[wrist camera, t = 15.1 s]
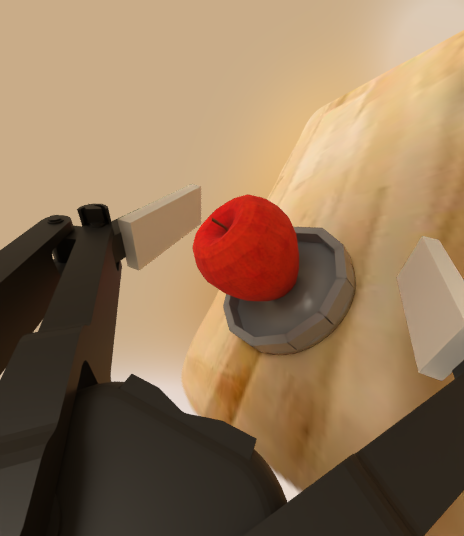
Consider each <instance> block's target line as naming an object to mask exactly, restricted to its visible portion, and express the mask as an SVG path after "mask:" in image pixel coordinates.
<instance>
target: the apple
mask: <svg viewBox="0 0 464 536" xmlns="http://www.w3.org/2000/svg"><path fill="white" fill-rule="evenodd" d="M193 252H194V257H195V260H196V264H197V267H198V269H199V270H200V272H201V273H202V275H203V277H204V278H205V279H206V280H207V282H209V283H210V284H212V285H214V286H215V287H216V288H218V289H219V290H221V291H222V292H224V293H226V294H228V295H230V296H233V297H236V298H239V299H242V300H246V301H271V300H276V299H278V298H281V297H283V296H285V295H286V294H287V293H288V292H289V291H290V290H291V289H292V288H293V286H294V285H295V284H296V280H297V276H298V271H299V250H298V243H297V236H296V232H295V230H294V228H293V226H292V223H291V222H290V220H289V218H288V216H287V215H286V214H285V213H284V212H283V211H282V210H281V209H280V208H279V207H278V206H277V205H275V204H273V203H272V202H270V201H268V200H267V199H263V198H261V197H256V196H252V195H245V196H241V197H237V198H234V199H232V200H231V201H228V202H227V203H225V204H224V205H222V206H221V207H219V208H218V209H216V210H215V211H214V212H213V213H212V214H211V215H210V216H209V217H208V219H207V220H206V221H205V222H204V223H203V224H202V225H201V227H200V228H199V230H198V231H197V233H196V236H195V239H194V243H193Z"/></svg>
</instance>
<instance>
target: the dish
mask: <svg viewBox="0 0 464 536" xmlns="http://www.w3.org/2000/svg"><path fill="white" fill-rule="evenodd" d="M293 228H294V230H295V232H296V236H297V243H298V250H299V271H298V276H297V280H296V284H295V285H294V286H293V288H292V289H291V290H290V291H289V292H288V293H287V294H286V295H285V296H283V297H281V298H278V299H276V300H271V301H246V300H242V299H239V298H236V297H233V296H230V295H228V294H226V297H225V301H224V305H223V306H224V311H225V315H226V319H227V323H228V327H229V330H230V331H231V332H232V333H234V334H235V335H236V336H238V337H239V338H241V339H242V340H244V341H245V342H246V343H248V344H249V345H251V346H252V347H254V348H255V349H257V350H258V351H260V352H262V353H263V352H265V353H269V354H274V355H286V354H293V353H297V352H300V351H303V350H306V349H308V348H310V347H312V346H314V345H316V344H317V343H319V342H321V341H322V340H323V339H325V338H326V337H327V336H328V335H329V334H330V333H331V332H333V331H334V330H335V329H336V327H337V326H338V325H339V324H340V322H341V321H342V320H343V318H344V317H345V315H346V313H347V312H348V310H349V307H350V305H351V303H352V300H353V296H354V292H355V273H354V269H353V266H352V264H351V260H350V255H349V253H348V252H347V250H346V249H345V247H344V245H343V244H342V243H340V242H339V241H338V240H337V239H336V238H334V237H333V236H332V235H331V234H329V233H328V232H327V231H326V230H324V229H323V228H311V227H293Z"/></svg>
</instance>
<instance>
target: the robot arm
mask: <svg viewBox="0 0 464 536" xmlns="http://www.w3.org/2000/svg"><path fill="white" fill-rule="evenodd" d="M77 210H78V213H79V217H80V220H81V223H82V227H81V226H73V224H72V221H71V218H70V217H68V216H63V215H54V216H50V217H47V218H45V219H43V220H41V221H40V222H38V223H37V224H36V225H34V226H33V227H32V228H30V229H29V230H28V231H26V232H25V233H24V234H22V235H21V236H19V237H18V238H17V239H15V240H14V241H12V242H11V243H10V244H8V245H7V246H6V247H4V248H3V249H2V250H0V375H1V373H2V372H3V371H4V369H5V368H6V369H5V371H4V373H3V375H2V378H1V380H0V536H424V535H425V534H426V533H427V532H428V530H429V529H430V528H431V527H432V526H433V525H434V524H435V522H436V521H437V520H438V519H439V518H440V517H441V516H442V514H443V513H444V512H445V511H446V510H447V509H448V508H449V506H450V505H451V504H452V503H453V502H454V501H455V500H456V499H457V497H458V496H459V495H460V494H461V493H462V492H463V491H464V280H463V278H462V277H461V275H460V273H459V272H458V270H457V268H456V267H455V265H454V264H453V262H452V260H451V259H450V257H449V255H448V254H447V252H446V251H445V249H444V247H443V246H442V244H441V242H440V241H439V240H438V239H434V238H429V237H425V236H422V237H421V238H420V240H419V241H418V243H417V245H416V246H415V248H414V250H413V251H412V253H411V254H410V256H409V258H408V259H407V261H406V262H405V264H404V266H403V267H402V269H401V271H400V272H399V274H398V275H397V277H396V278H397V282H398V286H399V290H400V295H401V299H402V303H403V308H404V312H405V316H406V321H407V325H408V329H409V334H410V338H411V342H412V347H413V351H414V355H415V360H416V364H417V368H418V372H419V373H421V374H424V375H427V376H429V377H432V378H435V379H437V380H440V381H443V380H444V379H445V378H446V377H447V376H448V375H449V374H451V373H452V372H453V375H454V377H455V380H453V381H452V382H451V383H449V384H448V385H447V386H445V387H444V388H443V389H441V390H440V391H439V392H437V393H436V394H435V395H433V396H432V397H431V398H429V399H428V400H427V401H425V402H424V403H423V404H421V405H420V406H419V407H417V408H416V409H415V410H413V411H412V412H411V413H409V414H408V415H407V416H405V417H404V418H403V419H401V420H400V421H399V422H397V423H396V424H395V425H393V426H392V427H391V428H389V429H388V430H387V431H385V432H384V433H383V434H381V435H380V436H379V437H377V438H376V439H375V440H373V441H372V442H370V443H369V444H368V445H366V446H365V447H364V448H362V449H361V450H360V451H358V452H357V453H355V454H353V455H351V456H350V457H348V458H347V459H345V460H344V461H343V462H341V463H340V464H339V465H337V466H336V467H335V468H333V469H332V470H330V471H329V472H328V473H326V474H325V475H324V476H322V477H321V478H320V479H318V480H317V481H316V482H314V483H313V484H312V485H310V486H309V487H308V488H306V489H305V490H304V491H302V492H301V493H300V494H298V495H297V496H296V497H294V498H293V499H292V500H290V501H289V502H288V503H287V500H286V498H285V495H284V493H283V490H282V487H281V486H280V484H279V482H278V480H277V478H276V476H275V474H274V473H273V471H272V470H271V468H270V467H269V465H268V464H267V463H266V461H265V460H264V459H263V458H262V457H261V455H259V454H258V453H257V452H256V451H255V450H254V446H255V443H256V438H254V437H252V436H250V435H248V434H247V433H245V432H243V431H241V430H239V429H237V428H235V427H233V426H231V425H229V424H227V423H225V422H223V421H221V420H216V419H211V418H206V417H201V416H196V415H190V414H186V413H184V412H182V411H181V410H180V409H179V408H178V407H177V406H176V405H175V404H174V403H173V402H172V401H171V400H170V399H169V398H168V397H167V396H166V395H165V394H164V393H163V392H162V391H161V390H160V389H159V388H158V387H156V386H154V385H152V384H150V383H149V382H147V381H144V380H143V379H141V378H139V377H137V376H135V375H133V374H131V375H130V377H129V378H128V379H127V380H126V381H125V382H111V377H110V375H111V363H112V354H113V344H114V335H115V326H116V317H117V307H118V297H119V288H120V279H121V269H122V265H121V261H120V260H122V259H123V258H125V257H126V260H127V264H128V266H129V267H131V268H134V269H137V270H140V269H142V268H143V267H144V266H146V265H147V264H148V263H150V262H151V261H152V260H154V259H155V258H156V257H158V256H159V255H160V254H162V253H163V252H164V251H165V250H167V249H168V248H170V247H171V246H172V245H173V244H175V243H176V242H177V241H179V240H180V239H181V238H183V237H184V236H185V235H187V234H188V233H189V232H191V231H192V230H193V229H195V228H196V227H197V226H199V225H200V224H201V186H197V185H192V184H190V185H189V186H186V187H184V188H182V189H180V190H178V191H176V192H174V193H171V194H169V195H167V196H165V197H163V198H161V199H159V200H157V201H155V202H153V203H150V204H148V205H146V206H144V207H142V208H140V209H137V210H135V211H133V212H131V213H129V214H127V215H125V216H122V217H120V218H118V219H116V220H114V221H112V222H111V219H110V214H109V210H108V207H107V206H106V205H103V204H88V205H84V206H82V207H79V208H78V209H77ZM52 254H53V256H54V260H53V258H52ZM42 320H43V321H42ZM41 321H42V323H41V326H40V328H39V331H38V332H35V333H33V331H34V330H35V329H36V327H37V326H38V325H39V323H40V322H41Z"/></svg>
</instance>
